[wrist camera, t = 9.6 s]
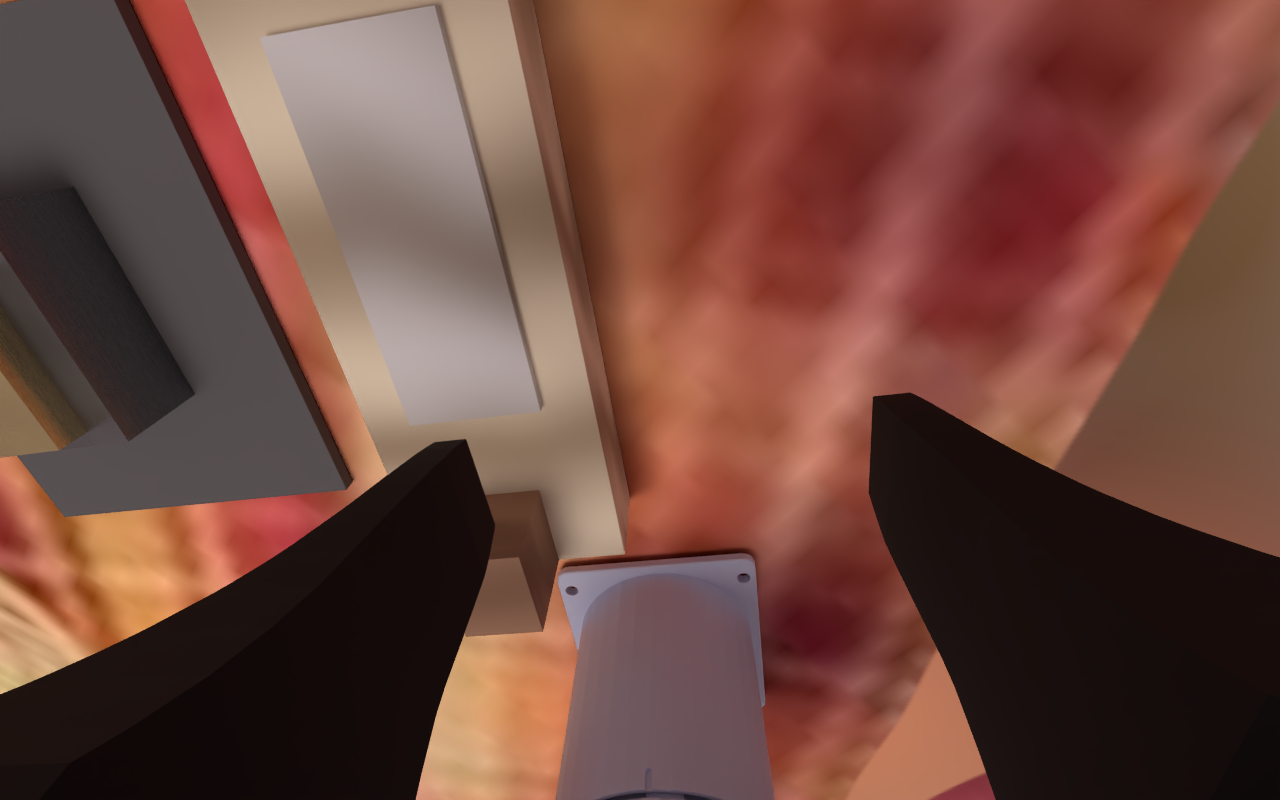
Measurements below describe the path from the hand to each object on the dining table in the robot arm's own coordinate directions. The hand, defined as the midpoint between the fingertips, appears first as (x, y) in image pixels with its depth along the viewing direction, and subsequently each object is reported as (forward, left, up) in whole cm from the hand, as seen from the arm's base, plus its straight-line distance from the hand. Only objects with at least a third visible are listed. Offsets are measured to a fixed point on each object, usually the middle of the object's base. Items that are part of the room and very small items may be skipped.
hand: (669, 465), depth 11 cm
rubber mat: (+2, +19, -9) cm, 21 cm away
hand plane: (+3, +6, -9) cm, 12 cm away
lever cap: (+2, +19, -9) cm, 21 cm away
